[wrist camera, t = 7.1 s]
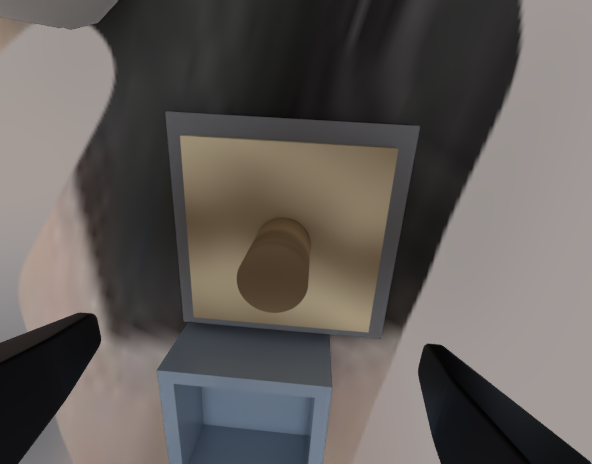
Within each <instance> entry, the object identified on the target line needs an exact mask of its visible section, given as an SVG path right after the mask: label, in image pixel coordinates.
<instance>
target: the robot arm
mask: <svg viewBox="0 0 592 464" xmlns="http://www.w3.org/2000/svg"><path fill="white" fill-rule="evenodd" d="M100 342H101V335H100V330H99V325H98V320H97V317H96V316H95V315H94V314H91V313H76V314H74V315H71V316H69V317H66V318H63V319H61V320H58V321H56V322H53V323H50V324H48V325H45V326H43V327H40V328H37V329H35V330H32V331H30V332H27V333H25V334H22V335H19V336H17V337H14V338H12V339H9V340H6V341H4V342H1V343H0V464H18V463H19V462H20V461H21V459H22V458H23V457H24V455H25V454H26V453H27V451H28V450H29V449H30V447H31V446H32V445H33V443H34V442H35V441H36V439H37V438H38V437H39V435H40V434H41V433H42V431H43V430H44V429H45V427H46V426H47V425H48V423H49V422H50V421H51V419H52V418H53V417H54V415H55V414H56V413H57V411H58V410H59V409H60V407H61V406H62V404H63V403H64V402H65V400H66V399H67V397H68V396H69V394H70V393H71V391H72V389H73V388H74V386H75V385H76V383H77V381H78V380H79V378H80V377H81V375H82V373H83V372H84V370H85V369H86V367H87V365H88V364H89V362H90V361H91V359H92V357H93V356H94V354H95V353H96V351H97V349H98V348H99V345H100ZM418 376H419V381H420V385H421V390H422V394H423V398H424V403H425V407H426V412H427V416H428V420H429V425H430V429H431V434H432V437H433V441H434V444H435V447H436V450H437V453H438V456H439V459H440V462H441V464H591V462H590V461H589V460H587V459H586V458H585V457H583V456H582V455H581V454H580V453H579V452H577V451H576V450H575V449H574V448H572V447H571V446H570V445H569V444H567V443H566V442H565V441H563V440H562V439H561V438H560V437H558V436H557V435H556V434H554V433H553V432H552V431H551V430H549V429H548V428H547V427H546V426H544V425H543V424H541V422H539V421H538V420H537V419H535V418H534V417H533V416H532V415H530V414H529V413H528V412H527V411H525V410H524V409H523V408H521V407H520V406H519V405H517V404H516V403H515V402H514V401H512V400H511V399H510V398H509V397H507V396H506V395H505V394H504V393H502V392H501V391H500V390H498V389H497V388H496V387H495V386H493V385H492V384H491V383H490V382H488V381H487V380H486V379H484V378H483V377H482V376H481V375H479V374H478V373H477V372H476V371H474V370H473V369H472V368H471V367H469V366H468V365H466V364H465V363H464V362H463V361H462V360H460V359H459V358H458V357H456V356H455V355H454V354H452V353H451V352H450V351H449V350H447V349H446V348H445V347H444V346H442V345H437V344H426V345H425V346H424V348H423V352H422V355H421V359H420V363H419V368H418Z"/></svg>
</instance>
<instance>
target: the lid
mask: <svg viewBox="0 0 592 464" xmlns="http://www.w3.org/2000/svg"><path fill="white" fill-rule="evenodd" d="M180 143H181V156H182V169H183V182H184V196H185V209H186V222H187V235H188V249H189V262H190V275H191V288H192V302H193V315H194V317H196V318H208V319H219V320H230V321H242V322H253V323H265V324H276V325H288V326H299V327H311V328H322V329H334V330H345V331H357V332H369V326H370V319H371V313H372V307H373V301H374V295H375V289H376V283H377V277H378V271H379V265H380V258H381V252H382V246H383V240H384V234H385V228H386V222H387V216H388V210H389V204H390V197H391V191H392V185H393V179H394V173H395V167H396V161H397V155H398V148H395V147H380V146H363V145H347V144H330V143H313V142H296V141H279V140H262V139H246V138H229V137H212V136H195V135H182V136H180Z"/></svg>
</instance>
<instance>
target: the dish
mask: <svg viewBox="0 0 592 464" xmlns="http://www.w3.org/2000/svg"><path fill="white" fill-rule="evenodd" d="M157 375H158V383H159V390H160V398H161V405H162V413H163V420H164V428H165V435H166V443H167V450H168V458H169V464H323V456H324V448H325V440H326V432H327V424H328V416H329V408H330V401H331V393H332V375H331V357H330V339H329V335H326V334H315V333H304V332H293V331H282V330H270V329H259V328H248V327H237V326H226V325H214V324H203V323H192V322H188V323H187V325H186V326H185V328H184V329H183V331H182V332H181V334H180V335H179V337H178V339H177V340H176V342H175V343H174V345H173V346H172V348H171V349H170V351H169V352H168V354H167V355H166V357H165V359H164V360H163V362H162V363H161V365H160V366H159V368H158V369H157Z"/></svg>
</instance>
